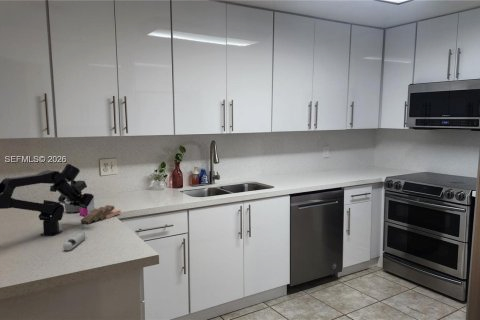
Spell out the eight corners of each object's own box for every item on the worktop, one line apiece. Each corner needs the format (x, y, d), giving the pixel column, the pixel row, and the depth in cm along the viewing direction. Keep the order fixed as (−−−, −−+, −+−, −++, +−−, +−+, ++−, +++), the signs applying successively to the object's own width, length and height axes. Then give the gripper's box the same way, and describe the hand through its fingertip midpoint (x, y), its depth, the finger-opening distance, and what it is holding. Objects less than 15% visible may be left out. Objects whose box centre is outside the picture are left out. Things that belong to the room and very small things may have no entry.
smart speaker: (77, 209, 210) (76, 185, 209) (86, 211, 205) (85, 186, 204) (61, 212, 203) (60, 187, 201) (70, 214, 197) (69, 189, 196)
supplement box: (89, 213, 201) (88, 192, 200) (95, 214, 197) (94, 193, 196) (79, 215, 196) (78, 194, 195) (84, 216, 192) (83, 195, 191)
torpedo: (72, 252, 140) (71, 235, 139) (60, 252, 139) (59, 235, 139) (90, 237, 158) (89, 222, 157) (79, 237, 157) (78, 223, 157)
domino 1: (87, 221, 177) (101, 209, 185) (80, 220, 180) (94, 208, 187) (88, 223, 178) (102, 211, 186) (81, 222, 180) (95, 210, 188)
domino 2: (94, 219, 181) (107, 207, 189) (87, 218, 183) (100, 206, 191) (95, 222, 182) (108, 209, 190) (88, 221, 184) (101, 209, 192)
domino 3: (100, 217, 185) (113, 205, 192) (93, 216, 187) (106, 204, 194) (101, 220, 185) (114, 208, 193) (94, 219, 187) (107, 207, 195)
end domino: (106, 215, 188) (120, 210, 197) (99, 214, 190) (113, 209, 199) (106, 218, 188) (120, 212, 197) (99, 217, 190) (113, 212, 199)
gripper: (89, 177, 169) (108, 196, 180) (62, 174, 177) (82, 193, 188) (76, 196, 163) (96, 215, 174) (48, 193, 171) (69, 211, 182)
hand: (86, 208), depth 179 cm, fingers closed
